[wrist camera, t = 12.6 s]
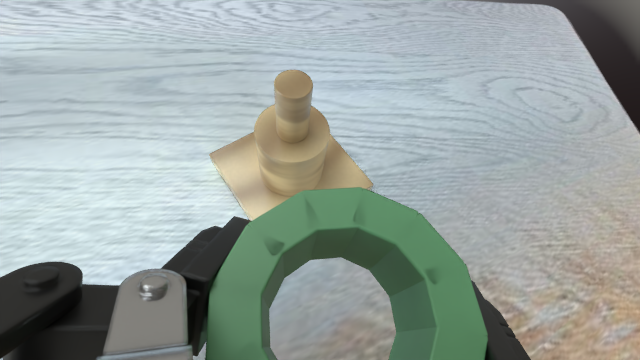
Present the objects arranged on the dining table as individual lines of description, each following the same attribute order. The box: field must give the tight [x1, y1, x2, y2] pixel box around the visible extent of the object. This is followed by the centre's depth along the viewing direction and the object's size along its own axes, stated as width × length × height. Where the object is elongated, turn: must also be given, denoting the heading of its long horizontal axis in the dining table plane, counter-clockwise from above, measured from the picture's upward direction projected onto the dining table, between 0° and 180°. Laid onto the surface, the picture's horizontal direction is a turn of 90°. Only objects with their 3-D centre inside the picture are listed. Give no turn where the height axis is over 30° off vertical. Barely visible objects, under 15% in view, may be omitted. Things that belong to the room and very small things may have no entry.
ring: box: [205, 187, 488, 360], centre depth 9 cm, size 6×6×3 cm
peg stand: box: [209, 70, 373, 221], centre depth 23 cm, size 10×10×11 cm
